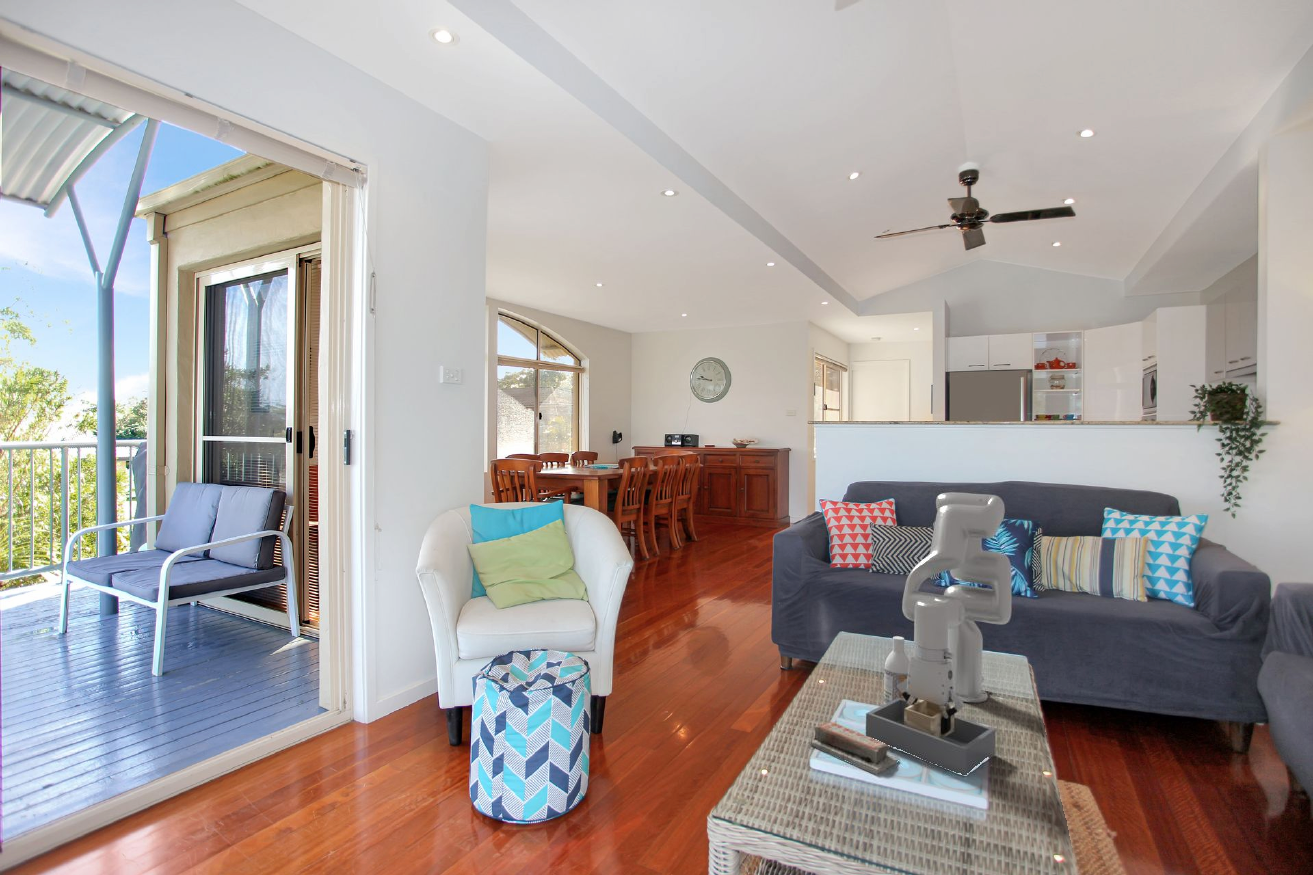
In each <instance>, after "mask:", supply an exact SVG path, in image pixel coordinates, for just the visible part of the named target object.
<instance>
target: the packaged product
mask: <svg viewBox="0 0 1313 875" xmlns="http://www.w3.org/2000/svg"><path fill="white" fill-rule="evenodd" d="M809 746H811V747H813V748H816V749H818V748H819V749H818V750H820V749H822V750H823V752H824V751H826V752H828V753H830V754H832V755H831V756H833V755H834V756H833V757H835V756H836V757H835V758H837V757H838V758H837V759H839V758H840V759H839V760H841V759H842V760H841V761H844V760H846V761H848V762H850V763H852V764H853V766H855V767H857V766H858V768H860V769H862V770H864V769H865V770H864V771H866V772H869V773H872V774H873V773H874V775H876V774H877V775H878V774H881V773H882V772H885V771H886V770H888V769H889V768H891V767H893V766H895V765H896V764H897V763H896V762H897V761H898V760H899V761H900V757H899V756H896V755H895V756H894V755H893V754H891V753H889V752H888V751H889V749H890V747H889V746H888V745H887V744H884V743H882V742H880V741H878V740H875V739H873V738H871V737H868V736H866V734H863V733H860V732H858V731H856V730H853V729H851V728H849V727H846V726H844V725H841V724H839V723H837V722H834V721H830V720H827V721H825V722H823V723H821V724H820V725H819V724H818V725H817V726H815V727H814V738H812V739H810V741H809ZM822 750H821V751H822ZM826 752H825V753H826ZM828 753H827V754H828ZM830 754H829V755H830ZM846 761H845V762H846ZM848 762H847V763H848ZM850 763H849V764H850ZM895 763H896V764H895ZM852 764H851V765H852ZM887 768H888V769H887Z"/></svg>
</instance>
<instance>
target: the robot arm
mask: <svg viewBox="0 0 1313 875" xmlns="http://www.w3.org/2000/svg"><path fill="white" fill-rule="evenodd" d="M935 499H936V500H935V505H936V506H935V508H936V511H937V512H936V517H935V521H934V526H933V533H932V538H931V539H932V540H931V544H930V551H929V554H928V555H927V556H926V557H924V558H923V559H922V560H920V561H919V562H918V563H917V564H915V566H914V567H913V568H912V569H911V570H910V573H909V574H908V576H907V578H906V581H905V584H904V585H905V587H904V591H903V597H902V606H901V608H902V609H901V610H902V613H903V615H904V617H905V618H906V619H908V620H910V621H911V622H914V624H913V625H914V627H913V628H914V629H913V632H914V633H913V654H911V656H910V659H909V661H910V663H909V668H908V676H907V679H906V680H905V681H903V682H901V683H900V684H898V685H897V687H898V688H899V690H900V692H901V693H902V696H903V697H904V699H905V700H906V701H907V705H908V706H911V705H912V704H914V703H916V702H918V701H919V700H924V701H927V702H930V703H934V704H937V705H939V707H940V709H941V712H942V714H943V717H941V734H943V735H944V734H946V733H948V732H949V731H950V729H951V716H952V715H954V716H955V714H957V713H958V712H959V711H961V710H962V709H963V708H965V703H983V702H985V701H987V700H988V693H987V692H986V691H985V690H984V689H982V688H983V687H982V686H983V685H982V683H984V682H985V677H984V676H983V634H982V632H981V629H980V628H979V627H978V625H977V623H976V622H983V623H988V624H995V625H1006V624H1007V623H1009V622H1010V620H1011V617H1012V605H1013V604H1012V564H1011V562H1010V559H1009V557H1008V556H1007V555H1006V554H1004V553H1002V552H998V551H990V550H989V551H988V550H983V548H982V539H985V540H986V539H988V540H989V539H992V538H993V537H994V536H996V534H997V532H998V531H999V528H1000V526H1001V524H1002V522H1003V520H1004V517H1005V510H1006V509H1005V502H1004V501H1003V499H1002V498H1001V497H1000V496H998V495H995V494H986V493H985V494H981V493H969V492H955V491H954V492H953V491H952V492H943V493H940V494H939V495H937V497H936V498H935ZM947 571H948V572H949V573H950V576H951V577H952V578H953V579H954V580H957V581H959V582H965V583H971V584H979V585H984V586H985V585H986V586H989V587H991V588H985V587H979V586H972V585H964V584H952V585H950V586H949V587H947V588H946V589H945V590H944V592H943V594H939V593H931V592H924V591H919V590H920V587H921V585H922V583H923V582H924V581H925V580H927V579H929V578H931V577H932V576H934V575H938V574H940V573H941V574H942V573H944V572H947ZM906 686H907V689H906ZM952 702H953V703H954V705H953V706H954V707H953V708H951V706H950V705H951V704H950V703H952ZM964 702H965V703H964Z"/></svg>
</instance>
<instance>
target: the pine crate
mask: <svg viewBox="0 0 1313 875" xmlns="http://www.w3.org/2000/svg"><path fill="white" fill-rule="evenodd" d="M950 706H951V708H953V707H954V706H955V705H952V704H950ZM954 716H955V714H954V715H952V716H951V729H950V731H949V732H948V733H946V734H944V735H943V734H941V717H943V714H942V712H941V709H940V707H939V705H937V704H934V703H930V702H927V701H924V700H921V699H919V700H918V701H917V702H916V703H914V704H912V705H911V706H909V707H907V708H905V709H904V725H905V726H908V727H910V728H913V729H916V730H919V731H921V732H924V733H927V734H930V735H932V736H935V737H938V738H941V739H943V738H944V737H946V736H947V735H949V734H950V733H952V732H954Z"/></svg>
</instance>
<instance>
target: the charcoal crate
mask: <svg viewBox="0 0 1313 875" xmlns="http://www.w3.org/2000/svg"><path fill="white" fill-rule="evenodd" d="M907 707H909V706H908V705H907V701H906V700H905V699H902V698H897V699H895V700H893V701H891V702H888V703H886V704H884V703H883V705H881V706H878V707H876V708H875V709H873V710H870V711H868V712H866V713H865V718H866V719H865V736H868V737H871V738H874V739H877V740H879V741H881V742H883V743H885V744H887V745H890V746H892V747H896V748H897V749H901V750H903V751H905V752H907V753H910V754H912V755H915V756H917V757H919V758H921V759H923V760H926V761H928V762H931V763H933V764H937V765H938V766H942V767H943V768H946V769H949V770H951V771H954V772H956V773H961V774H962V775H967V773H969V772H970V771H971V770H972V769H973V768H974V767H975V766H977V765H978V764H980V762H982V761H983V760H984V759H985V758H987V757H989V758H990V759H992V758H993V757H994V756H996V728H993V727H989V726H986V725H983V724H980V723H978V722H975V721H971V720H968V719H966V718H962V717H959V716H956V715H954V732H952V733H950V734H949V735H947V736H946V737H944V738H943V739H941V738H938V737H935V736H932V735H930V734H927V733H924V732H921V731H919V730H916V729H913V728H910V727H908V726H905V725H904V709H905V708H907ZM923 760H922V761H923ZM928 762H927V763H928ZM933 764H932V765H933ZM938 766H937V767H938ZM943 768H942V769H943ZM946 769H945V770H946ZM951 771H950V772H951ZM956 773H955V774H956Z"/></svg>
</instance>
